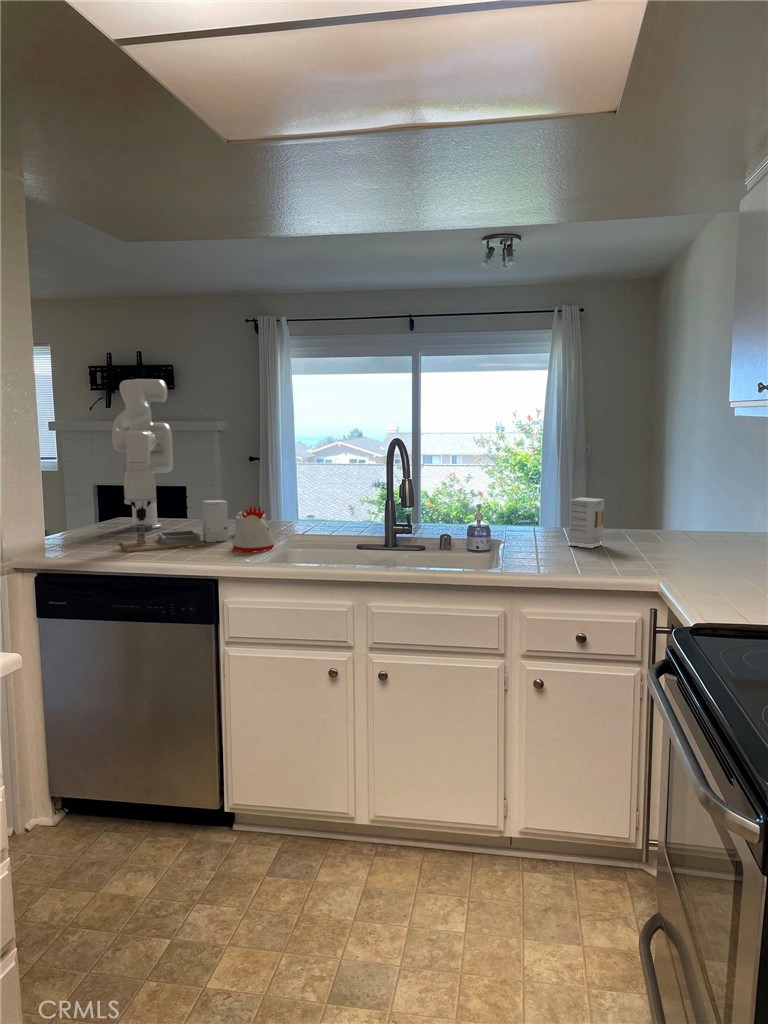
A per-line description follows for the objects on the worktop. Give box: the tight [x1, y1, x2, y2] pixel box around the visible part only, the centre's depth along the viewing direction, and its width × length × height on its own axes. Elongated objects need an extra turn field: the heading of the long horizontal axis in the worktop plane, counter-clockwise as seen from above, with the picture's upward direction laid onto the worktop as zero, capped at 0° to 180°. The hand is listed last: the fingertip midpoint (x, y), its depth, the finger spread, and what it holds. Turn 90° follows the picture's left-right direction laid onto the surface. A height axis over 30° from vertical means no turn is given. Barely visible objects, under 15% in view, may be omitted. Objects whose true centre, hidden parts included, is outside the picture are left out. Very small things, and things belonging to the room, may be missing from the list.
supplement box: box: [568, 497, 605, 544], centre depth 254 cm, size 10×9×17 cm
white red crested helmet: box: [232, 505, 275, 553], centre depth 248 cm, size 14×14×15 cm
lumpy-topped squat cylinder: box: [234, 510, 267, 531], centre depth 277 cm, size 10×13×9 cm
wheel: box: [129, 523, 153, 534], centre depth 252 cm, size 7×7×2 cm
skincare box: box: [201, 499, 229, 543], centre depth 263 cm, size 8×6×15 cm
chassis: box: [120, 530, 205, 553], centre depth 255 cm, size 18×26×4 cm
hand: (141, 520), depth 248 cm, fingers closed
